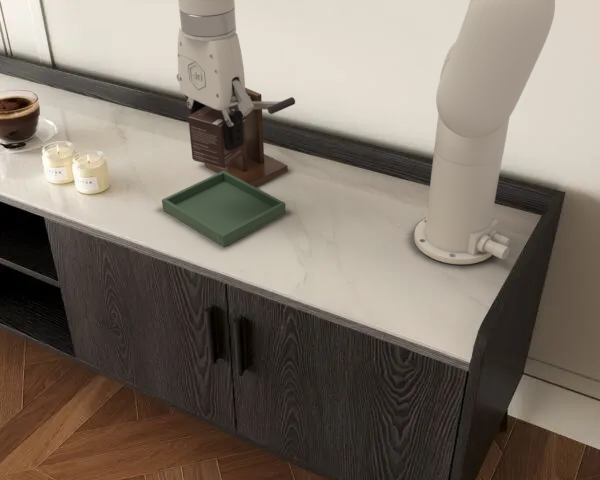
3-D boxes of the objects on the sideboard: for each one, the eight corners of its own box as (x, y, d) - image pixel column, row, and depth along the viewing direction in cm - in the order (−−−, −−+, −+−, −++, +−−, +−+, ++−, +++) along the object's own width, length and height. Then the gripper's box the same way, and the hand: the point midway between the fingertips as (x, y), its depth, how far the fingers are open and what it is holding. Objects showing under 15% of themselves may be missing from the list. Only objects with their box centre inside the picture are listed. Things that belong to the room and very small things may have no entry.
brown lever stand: (287, 171, 134) (286, 97, 125) (250, 190, 129) (245, 114, 120) (242, 149, 140) (237, 77, 132) (204, 166, 136) (197, 92, 127)
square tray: (285, 213, 123) (285, 202, 122) (224, 247, 116) (223, 236, 115) (224, 180, 132) (223, 170, 130) (163, 210, 124) (161, 199, 123)
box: (215, 144, 121) (211, 100, 116) (246, 153, 118) (243, 109, 114) (191, 160, 117) (186, 116, 112) (223, 170, 114) (219, 125, 110)
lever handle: (296, 108, 122) (293, 93, 120) (274, 118, 119) (270, 103, 118) (249, 107, 130) (246, 93, 129) (227, 116, 127) (223, 102, 126)
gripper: (147, 13, 107) (163, 129, 118) (229, 44, 98) (237, 167, 109) (189, 0, 111) (200, 114, 122) (271, 29, 102) (275, 149, 113)
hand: (217, 138), depth 115 cm, fingers closed on box, 6 cm apart
